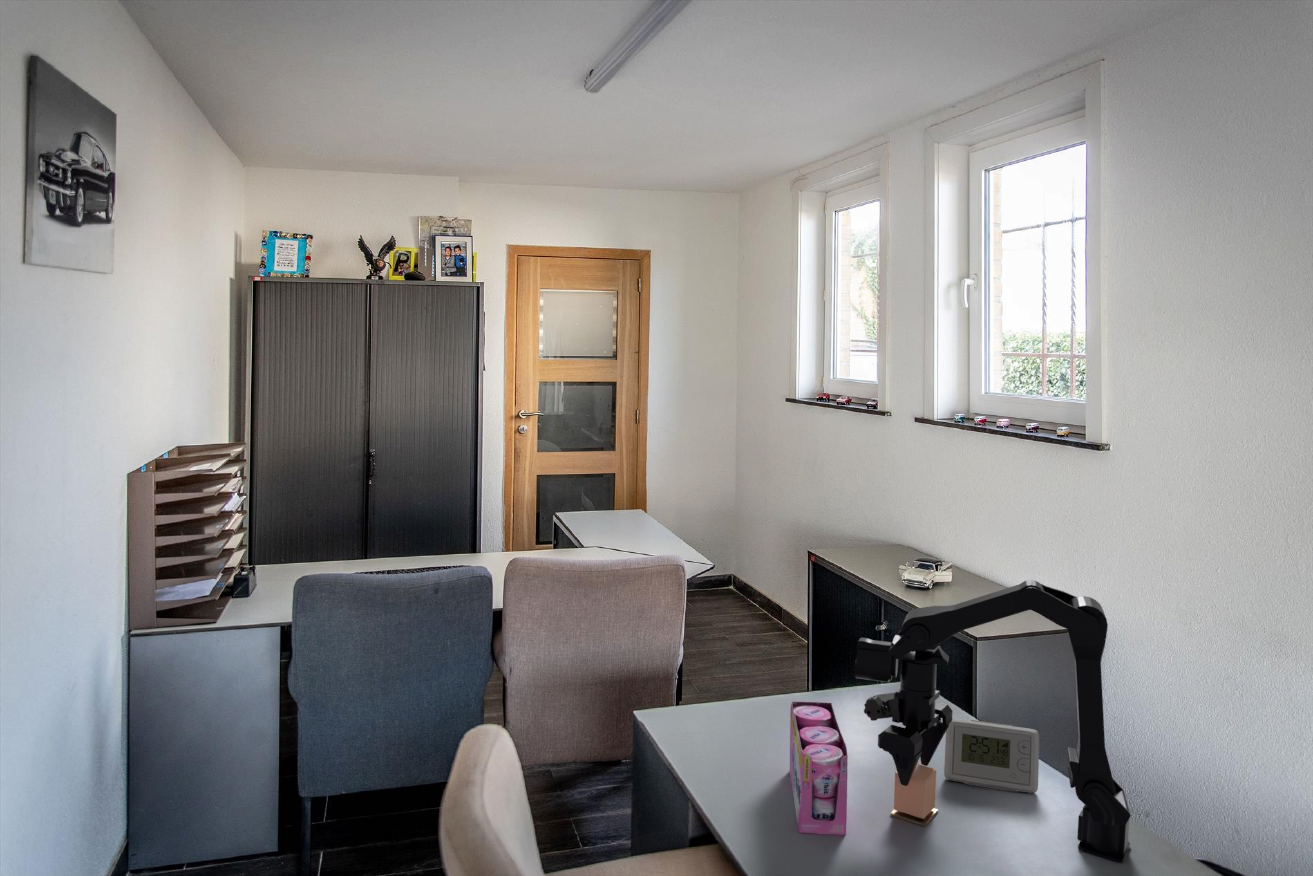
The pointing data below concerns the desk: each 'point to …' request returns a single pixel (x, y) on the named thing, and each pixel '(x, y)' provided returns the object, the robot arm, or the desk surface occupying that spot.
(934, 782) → the tan cardboard box
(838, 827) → the gum box
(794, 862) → the desk surface
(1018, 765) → the digital clock
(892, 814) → the post on square base
